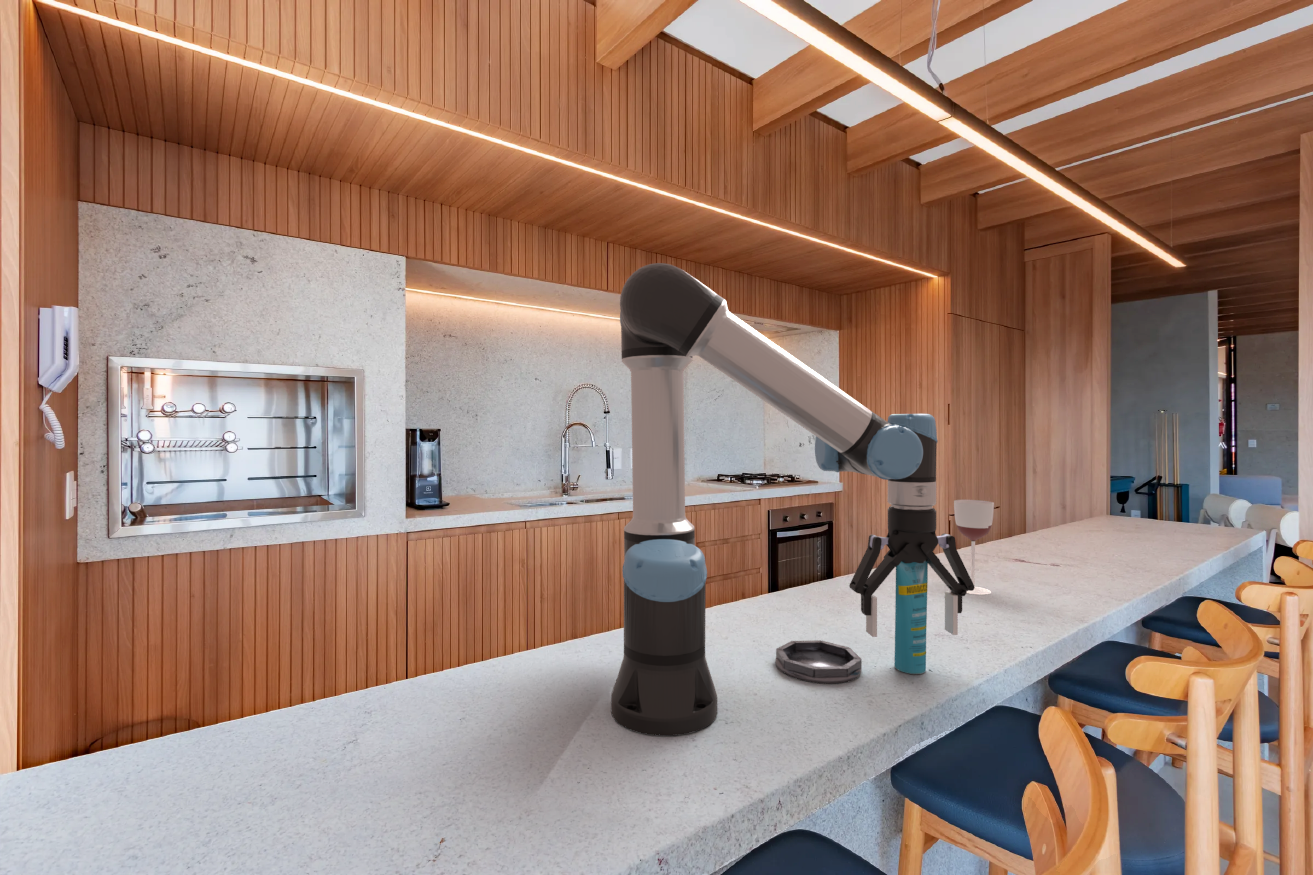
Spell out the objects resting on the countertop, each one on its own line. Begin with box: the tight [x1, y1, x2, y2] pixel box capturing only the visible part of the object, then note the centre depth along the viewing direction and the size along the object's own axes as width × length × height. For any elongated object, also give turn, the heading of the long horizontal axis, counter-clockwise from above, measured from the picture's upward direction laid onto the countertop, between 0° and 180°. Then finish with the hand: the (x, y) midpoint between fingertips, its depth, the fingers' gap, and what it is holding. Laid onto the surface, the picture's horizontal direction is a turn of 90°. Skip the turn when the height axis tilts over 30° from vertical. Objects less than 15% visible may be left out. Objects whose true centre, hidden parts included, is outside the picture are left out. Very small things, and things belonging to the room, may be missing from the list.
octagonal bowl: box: [775, 639, 863, 685], centre depth 105 cm, size 14×14×2 cm
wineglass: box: [953, 499, 995, 596], centre depth 155 cm, size 9×10×22 cm
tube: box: [894, 561, 929, 675], centre depth 104 cm, size 7×5×19 cm, turn 123°
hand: (911, 633), depth 104 cm, fingers open, 13 cm apart
